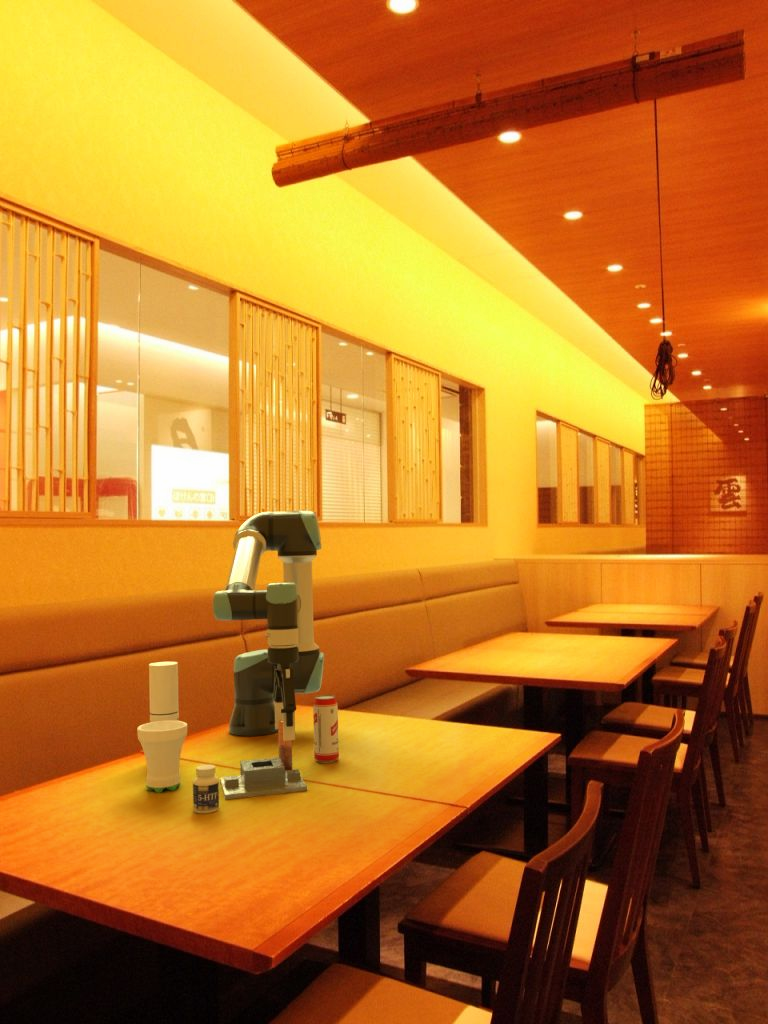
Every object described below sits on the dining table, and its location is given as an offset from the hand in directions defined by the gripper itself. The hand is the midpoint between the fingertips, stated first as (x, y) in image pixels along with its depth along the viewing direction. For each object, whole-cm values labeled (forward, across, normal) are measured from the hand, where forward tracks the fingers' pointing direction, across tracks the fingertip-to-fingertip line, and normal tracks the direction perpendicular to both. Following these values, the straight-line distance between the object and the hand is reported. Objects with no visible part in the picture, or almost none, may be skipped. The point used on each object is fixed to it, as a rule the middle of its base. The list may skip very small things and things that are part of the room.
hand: (284, 734), depth 202 cm
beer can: (+9, -6, +11) cm, 16 cm away
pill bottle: (+10, +23, -20) cm, 32 cm away
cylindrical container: (+9, -21, -28) cm, 36 cm away
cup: (+9, +4, -29) cm, 30 cm away
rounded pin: (+9, 0, 0) cm, 9 cm away
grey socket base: (+9, +10, -7) cm, 15 cm away
